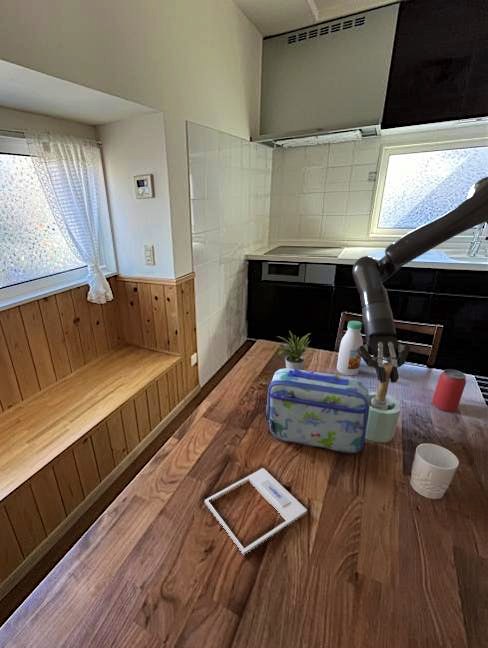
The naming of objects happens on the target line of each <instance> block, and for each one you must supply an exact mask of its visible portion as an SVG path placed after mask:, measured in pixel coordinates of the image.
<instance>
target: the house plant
mask: <svg viewBox="0 0 488 648" xmlns="http://www.w3.org/2000/svg"><path fill="white" fill-rule="evenodd" d="M288 332H289V335H290V338H289V337H288V339H289V341H288V340H287V338H285V337H282V336H278V335H277V336H276V337H277V338H279V339H282V341H284V342H280V343H282V344H285V345H286V347H287V348H286V347H284V346H280V345H275V344H274V346H275V347H276V348H278V349H280V350H279V351H278V353H277V355H279V354H286V356H285V358H284V361H285V368H288V369H297V370H303V367H304V364H305V361H306V360H305V358H304V356H303V355H305V354H309V355H312V352H307V347H309V343H310V342H311V340H309V338H310V337H309V335H311V334H312V333H311V332H309V333H307V334H306V335H304V336H302V337H301V338H300V337H299V336H298V337H297V336H296V334H293V332H292V331H290V330H289V331H288ZM299 339H300V340H299ZM308 340H309V341H308Z"/></svg>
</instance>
